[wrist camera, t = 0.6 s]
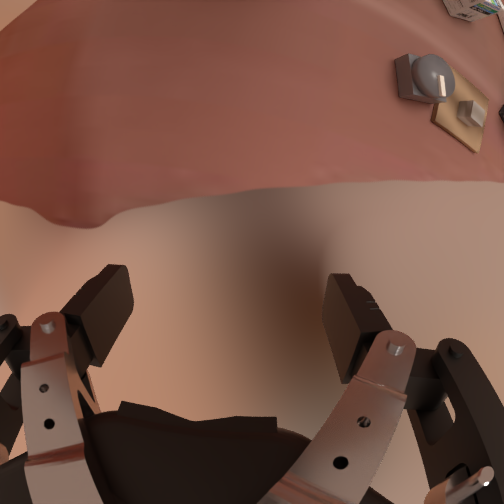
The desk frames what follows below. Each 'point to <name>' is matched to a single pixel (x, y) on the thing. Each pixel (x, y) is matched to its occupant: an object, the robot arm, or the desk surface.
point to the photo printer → (501, 18)
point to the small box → (502, 113)
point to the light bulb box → (473, 8)
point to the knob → (424, 78)
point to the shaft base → (451, 110)
